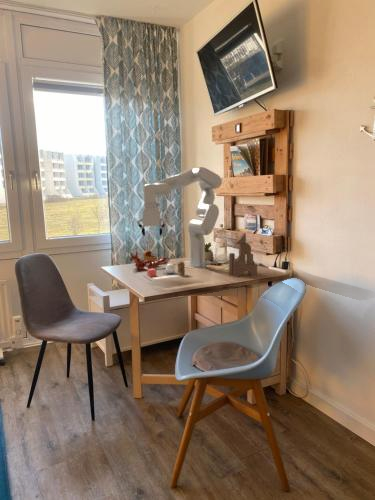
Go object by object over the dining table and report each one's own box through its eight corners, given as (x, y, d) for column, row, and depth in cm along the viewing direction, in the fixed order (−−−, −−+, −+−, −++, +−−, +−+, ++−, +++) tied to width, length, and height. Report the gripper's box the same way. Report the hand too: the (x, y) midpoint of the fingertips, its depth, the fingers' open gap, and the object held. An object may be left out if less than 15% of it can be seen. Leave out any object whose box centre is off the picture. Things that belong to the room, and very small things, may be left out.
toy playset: (128, 264, 260) (127, 244, 258) (166, 262, 265) (166, 242, 262) (130, 276, 226) (129, 253, 224) (173, 273, 231) (173, 251, 228)
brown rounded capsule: (182, 273, 222) (182, 260, 221) (186, 275, 218) (185, 261, 217) (176, 274, 220) (176, 261, 219) (179, 276, 216) (179, 262, 215)
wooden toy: (253, 272, 228) (253, 231, 224) (257, 275, 221) (257, 232, 217) (228, 274, 225) (228, 232, 221) (231, 277, 218) (232, 234, 214)
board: (178, 273, 230) (177, 264, 229) (188, 277, 218) (188, 268, 217) (142, 277, 220) (142, 268, 219) (151, 283, 207) (151, 273, 206)
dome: (172, 270, 226) (172, 262, 225) (176, 271, 222) (175, 263, 221) (164, 271, 224) (164, 263, 223) (168, 272, 219) (167, 264, 219)
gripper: (166, 205, 219) (167, 234, 222) (137, 205, 220) (138, 234, 223) (165, 205, 212) (166, 236, 215) (134, 206, 213) (136, 236, 216)
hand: (152, 235), depth 219 cm, fingers open, 9 cm apart
